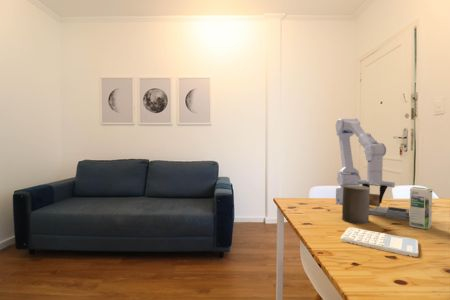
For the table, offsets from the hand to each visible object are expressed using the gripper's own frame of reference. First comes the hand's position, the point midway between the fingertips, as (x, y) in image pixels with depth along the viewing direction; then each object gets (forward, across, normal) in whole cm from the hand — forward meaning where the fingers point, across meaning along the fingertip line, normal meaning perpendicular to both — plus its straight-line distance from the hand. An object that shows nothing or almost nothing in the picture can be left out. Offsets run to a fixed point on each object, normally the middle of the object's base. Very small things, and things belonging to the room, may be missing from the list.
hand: (374, 202), depth 111 cm
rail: (+6, +3, 0) cm, 6 cm away
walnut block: (+1, 0, 0) cm, 1 cm away
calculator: (+6, +5, -35) cm, 36 cm away
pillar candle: (+6, -5, -14) cm, 16 cm away
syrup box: (+6, +16, -8) cm, 19 cm away
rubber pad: (+6, +3, +12) cm, 14 cm away
